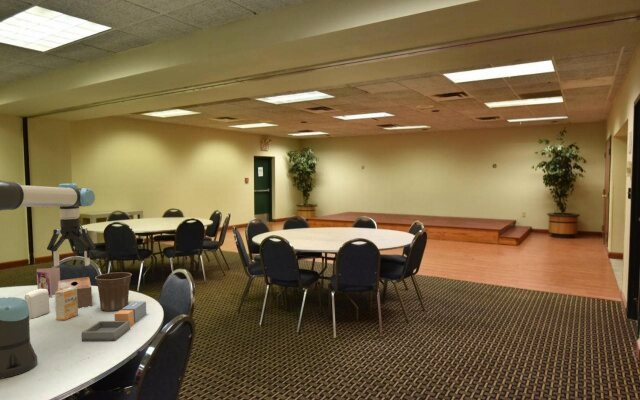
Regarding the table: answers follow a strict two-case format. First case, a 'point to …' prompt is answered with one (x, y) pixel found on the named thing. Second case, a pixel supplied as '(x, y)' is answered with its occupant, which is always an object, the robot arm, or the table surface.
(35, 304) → the photo printer
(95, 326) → the tray
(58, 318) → the supplement box
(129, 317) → the stub
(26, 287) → the table surface
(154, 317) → the table surface
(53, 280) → the pink box
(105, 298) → the plant pot
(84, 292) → the tissue box cover
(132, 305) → the block
